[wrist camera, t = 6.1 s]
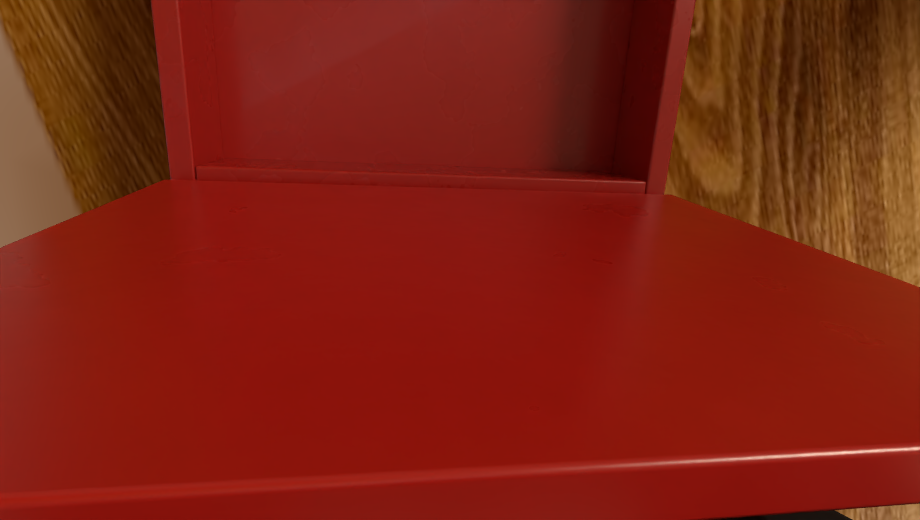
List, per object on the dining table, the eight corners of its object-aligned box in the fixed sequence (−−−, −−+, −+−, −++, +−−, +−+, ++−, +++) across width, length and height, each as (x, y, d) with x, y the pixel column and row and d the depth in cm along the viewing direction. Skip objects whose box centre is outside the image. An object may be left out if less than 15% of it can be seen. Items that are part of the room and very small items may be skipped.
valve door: (-725, 543, 2) (-333, 974, 4) (1298, 426, 4) (1081, 733, 6) (162, 178, 12) (183, 336, 13) (672, 194, 14) (646, 330, 15)
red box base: (176, -214, 13) (114, -311, 10) (663, -145, 15) (731, -208, 12) (210, 174, 15) (170, 189, 12) (617, 187, 17) (663, 202, 14)
